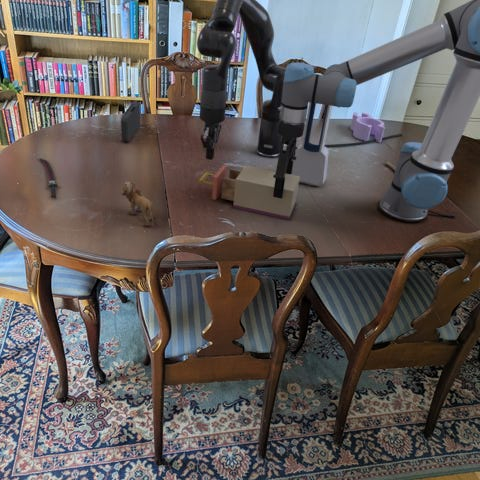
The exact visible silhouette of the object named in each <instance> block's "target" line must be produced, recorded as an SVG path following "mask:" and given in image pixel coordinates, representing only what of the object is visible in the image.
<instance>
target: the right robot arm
mask: <svg viewBox="0 0 480 480" xmlns="http://www.w3.org/2000/svg"><path fill="white" fill-rule="evenodd" d="M446 49H447V50H449V51H452V54H453V56H454V59H455V63H454V66H453V69H452V71H451V73H450V76H449V78H448V81H447V83H446V86H445V87H444V91H443V93H442V95H441V97H440V100H439V102H438V105H437V107H436V110H435V112H434V115H433V117H432V120H431V122H430V124H429V127H428V129H427V131H426V134H425V136H424V139H423V141H422V142H416V141H407V142H405V143H404V144H402V147H401V150H400V151H399V156H398V160H397V163H396V166H395V167H396V170H395V171H394V173H393V177H392V180H391V182H390V183H391V184H390V186H389V187H388V188H387V190H386V192H385V193H383V196H382V197H381V198H380V201H379V204H378V208H379V210H380V211H381V213H382V214H384V215H385V216H386V217H388V218H391V219H393V220H396V221H399V222H402V223H403V222H404V223H410V224H411V223H420V222H423V221H425V220H426V218H427V216H428V213H431V214H435V215H438V216H442V217H448V218H455V217H456V215H455V214H448V213H441V212H438V211H435V210H432V209H431V208H434V207H437V206H438V205H439V204H441V203H442V202H443V201H444V200H445V199H446V197H447V194H448V184H447V182H448V180H449V178H450V176H451V174H452V172H453V170H454V167H455V165H454V162H453V159H452V158H453V156H454V154H455V151H456V149H457V147H458V145H459V143H460V140H461V138H462V136H463V134H464V132H465V129H466V128H467V126H468V123H469V121H470V119H471V117H472V115H473V112H474V110H475V109H476V105H477V104H478V101H479V99H480V0H469V1H467V2H465V3H463V4H461V5H459V6H457V7H455V8H454V9H451V10H449V11H447V12H445V13H443V14H441V16H440V17H439V19H438V20H436V21H433V22H432V23H429V24H427V25H425V26H423V27H421V28H419V29H416V30H413V31H412V32H409V33H407V34H404V35H402V36H400V37H398V38H395V39H394V40H390V41H389V42H387V43H384V44H382V45H380V46H378V47H377V46H376V47H375V48H373V49H371V50H368V51H366V52H364V53H362V54H359V55H357V56H355V57H353V58H350V59H347V60H346V61H343V62H341V63H335V64H331V65H329V66H328V67H327V68H326V69H325V70H324V71H323V74H318V73H315V71H314V70H315V68H314V66H313V65H311V64H309V63H305V62H302V63H301V62H291V63H288V64H287V66H286V67H285V68H286V72H285V77H284V83H283V91H282V100H281V107H279V108H278V110H280V111H281V112H280V117H279V118H280V120H279V122H278V130H277V132H278V134H280V135H281V136H283V137H284V138H283V141H281V148H280V154H279V156H278V159H277V162H276V163H277V164H276V169H275V171H276V173H275V175H273V177H275V178H276V179H275V186H274V193H273V197H276V198H281V199H282V197H283V190H284V183H285V173H286V174H292V168H293V160H296V157H295V154H296V153H295V152H296V150H297V149H296V147H297V141H298V140H297V139H299V138H301V137H304V132H305V126H306V120H307V114H308V108H309V103H311V102H312V103H316V105H317V104H319V105H323V106H326V105H330V106H332V107H336V108H347V109H348V108H351V107H352V106H353V104H354V102H355V101H354V100H355V96H356V91H357V86H358V85H362V84H364V83H366V82H368V81H371V80H374V79H376V78H378V77H381V76H383V75H386V74H389V73H392V72H393V71H395V70H397V69H400V68H403V67H406V66H408V65H410V64H413V63H415V62H417V61H419V60H423V59H424V58H426V57H427V58H428V57H429V56H432V55H434V54H437V53H439V52H441V51H443V50H446Z"/></svg>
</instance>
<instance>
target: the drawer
mask: <svg viewBox="0 0 480 480" xmlns="http://www.w3.org/2000/svg"><path fill="white" fill-rule="evenodd" d="M227 169H228V168H227V164H223V165H222V166H221V167H220V168H219V169H218V171H217V172H216V173H215V174H212V173H210V172H208V171H205V172H204V174H203V175H202V176H201V177H200V178H199V180H198V184H199V185H203V184H205V185H209V186H212V195H211V200H217V199H218V197H219V196H220V195H221V199H223V200H227V201H233V202H234V193H235V182H236V178H237V177H238V175H239V174H240V173H241V171H242V170H240V169H235V168H229V173H228V177H227ZM208 177H211V178H213V180H212V181H213V182H211V181H207V178H208Z"/></svg>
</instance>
